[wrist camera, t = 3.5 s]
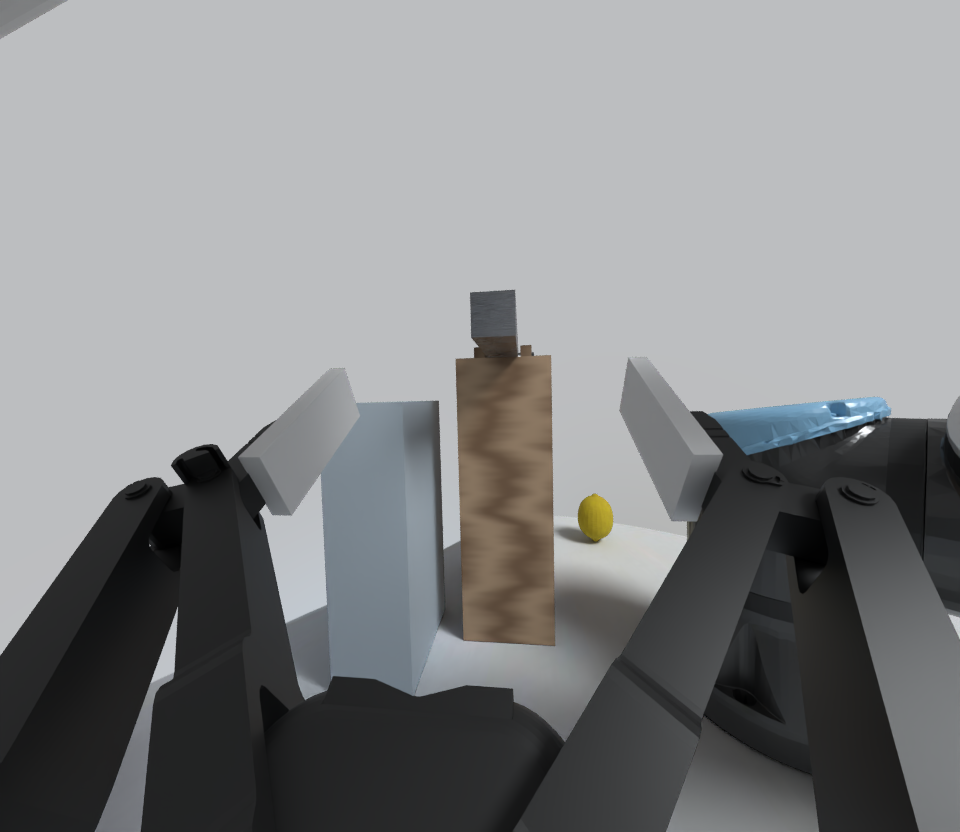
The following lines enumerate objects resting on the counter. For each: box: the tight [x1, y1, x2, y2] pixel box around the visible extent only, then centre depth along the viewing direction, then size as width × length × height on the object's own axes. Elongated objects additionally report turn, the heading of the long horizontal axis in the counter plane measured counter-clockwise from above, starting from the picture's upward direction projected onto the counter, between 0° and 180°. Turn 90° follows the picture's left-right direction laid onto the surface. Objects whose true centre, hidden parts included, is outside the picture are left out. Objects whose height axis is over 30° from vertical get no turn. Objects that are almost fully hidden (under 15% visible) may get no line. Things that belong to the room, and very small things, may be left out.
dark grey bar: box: [470, 290, 534, 358], centre depth 35 cm, size 7×28×3 cm, turn 173°
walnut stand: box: [456, 345, 555, 646], centre depth 42 cm, size 9×18×29 cm, turn 173°
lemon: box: [578, 494, 613, 542], centre depth 57 cm, size 6×6×8 cm
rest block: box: [321, 401, 445, 696], centre depth 34 cm, size 7×12×24 cm, turn 173°
